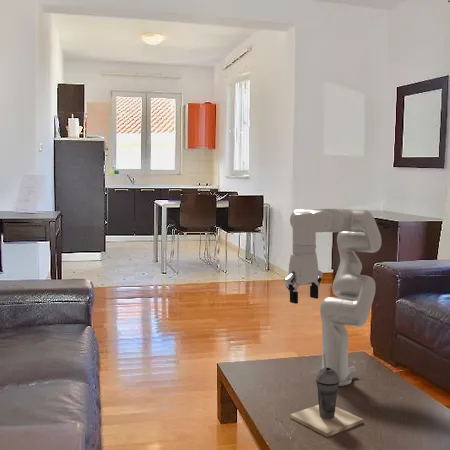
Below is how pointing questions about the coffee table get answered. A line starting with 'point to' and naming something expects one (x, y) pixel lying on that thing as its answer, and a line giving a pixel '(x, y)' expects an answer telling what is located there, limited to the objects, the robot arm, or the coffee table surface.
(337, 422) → the birch board
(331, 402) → the beverage cup
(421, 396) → the coffee table surface
